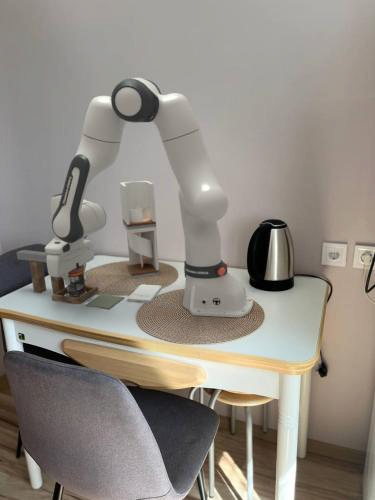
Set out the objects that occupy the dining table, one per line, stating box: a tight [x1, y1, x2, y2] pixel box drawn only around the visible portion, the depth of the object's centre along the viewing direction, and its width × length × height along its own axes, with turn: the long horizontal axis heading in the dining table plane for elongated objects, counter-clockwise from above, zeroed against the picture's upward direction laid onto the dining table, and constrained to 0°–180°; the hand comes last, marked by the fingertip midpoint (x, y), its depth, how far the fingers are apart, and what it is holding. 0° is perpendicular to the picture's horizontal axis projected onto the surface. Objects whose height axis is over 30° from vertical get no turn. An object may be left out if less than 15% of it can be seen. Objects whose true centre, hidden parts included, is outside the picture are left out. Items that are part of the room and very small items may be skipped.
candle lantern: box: [119, 180, 160, 280], centre depth 152 cm, size 11×11×35 cm
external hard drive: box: [126, 283, 163, 304], centre depth 136 cm, size 2×8×12 cm
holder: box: [28, 260, 100, 306], centre depth 137 cm, size 22×11×12 cm, turn 68°
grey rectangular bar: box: [16, 249, 48, 263], centre depth 138 cm, size 17×3×2 cm, turn 68°
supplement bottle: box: [66, 262, 86, 297], centre depth 135 cm, size 6×6×11 cm
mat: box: [85, 293, 125, 310], centre depth 131 cm, size 9×9×1 cm
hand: (75, 280), depth 135 cm, fingers closed on supplement bottle, 6 cm apart
